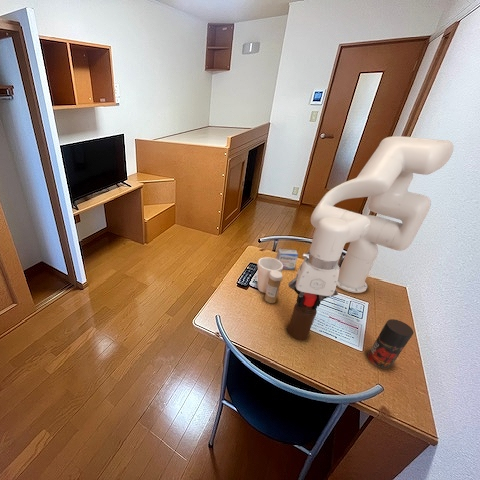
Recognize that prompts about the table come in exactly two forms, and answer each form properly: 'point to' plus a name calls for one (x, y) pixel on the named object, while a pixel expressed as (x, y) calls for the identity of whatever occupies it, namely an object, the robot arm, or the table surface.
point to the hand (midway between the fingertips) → (306, 304)
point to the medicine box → (287, 258)
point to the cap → (309, 299)
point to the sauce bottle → (301, 321)
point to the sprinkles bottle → (273, 286)
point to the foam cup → (266, 271)
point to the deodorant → (390, 343)
